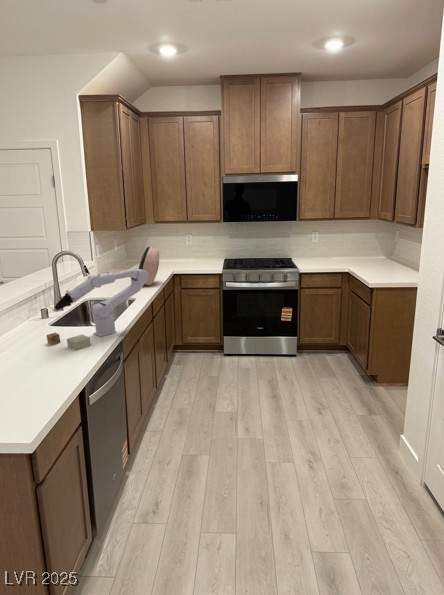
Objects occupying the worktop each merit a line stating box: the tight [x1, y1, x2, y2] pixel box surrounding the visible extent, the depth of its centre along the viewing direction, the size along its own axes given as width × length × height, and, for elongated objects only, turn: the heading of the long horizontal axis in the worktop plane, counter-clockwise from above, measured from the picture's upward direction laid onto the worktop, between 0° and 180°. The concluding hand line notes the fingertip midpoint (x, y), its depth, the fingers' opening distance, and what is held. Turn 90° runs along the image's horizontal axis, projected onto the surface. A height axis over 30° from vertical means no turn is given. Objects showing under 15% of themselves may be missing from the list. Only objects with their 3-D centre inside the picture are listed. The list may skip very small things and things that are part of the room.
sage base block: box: [66, 334, 92, 351], centre depth 199 cm, size 8×8×4 cm
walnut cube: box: [46, 332, 61, 346], centre depth 205 cm, size 4×4×4 cm
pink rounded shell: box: [138, 246, 160, 286], centre depth 324 cm, size 22×20×30 cm
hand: (56, 307), depth 198 cm, fingers open, 7 cm apart
